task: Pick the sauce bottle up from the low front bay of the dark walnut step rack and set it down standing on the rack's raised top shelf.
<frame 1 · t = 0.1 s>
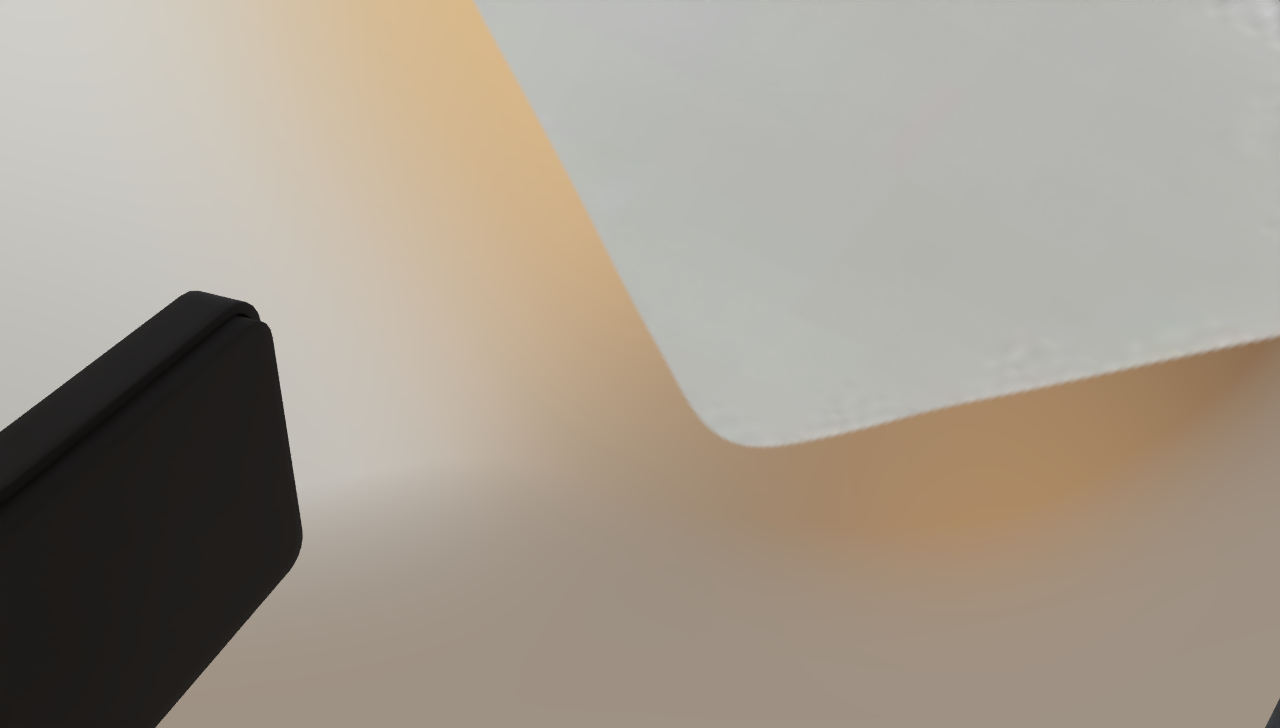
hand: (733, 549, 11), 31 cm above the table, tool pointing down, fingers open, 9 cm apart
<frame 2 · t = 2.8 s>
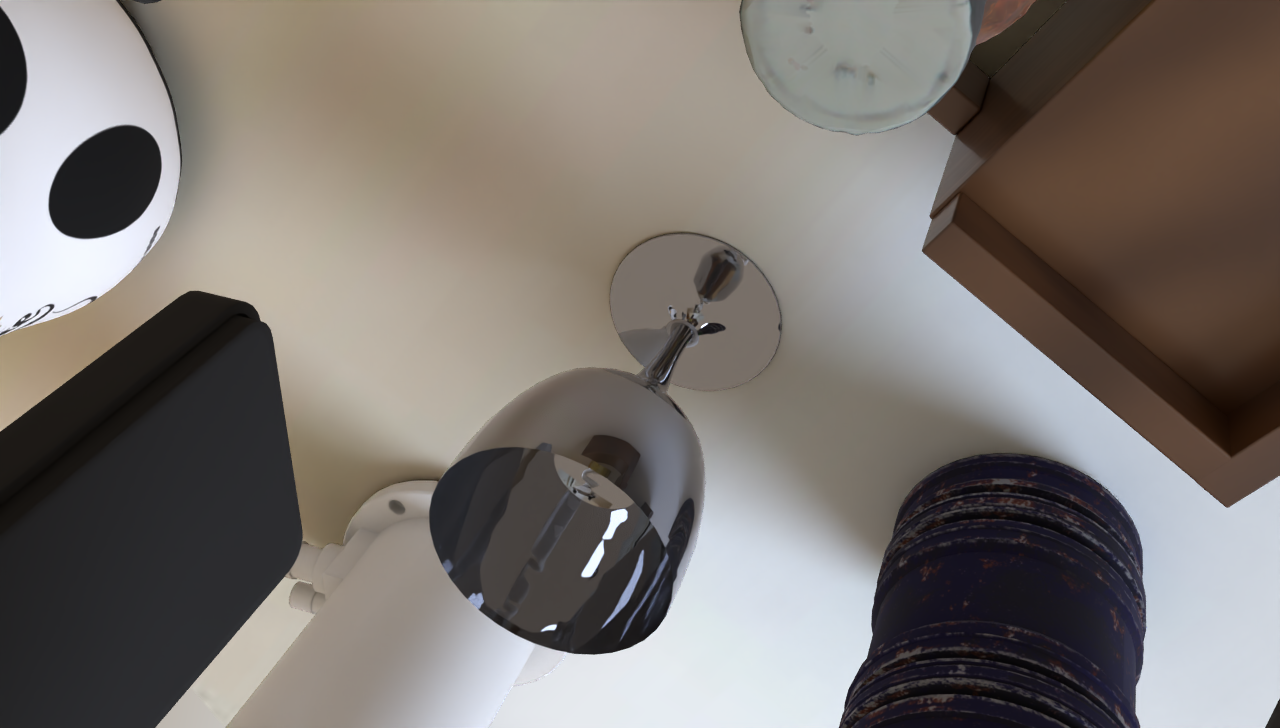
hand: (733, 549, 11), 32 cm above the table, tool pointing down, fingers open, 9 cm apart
dark blue cylinder: (1014, 548, 49), on the table
wine glass: (695, 312, 48), on the table
milk container: (48, 82, 53), on the table
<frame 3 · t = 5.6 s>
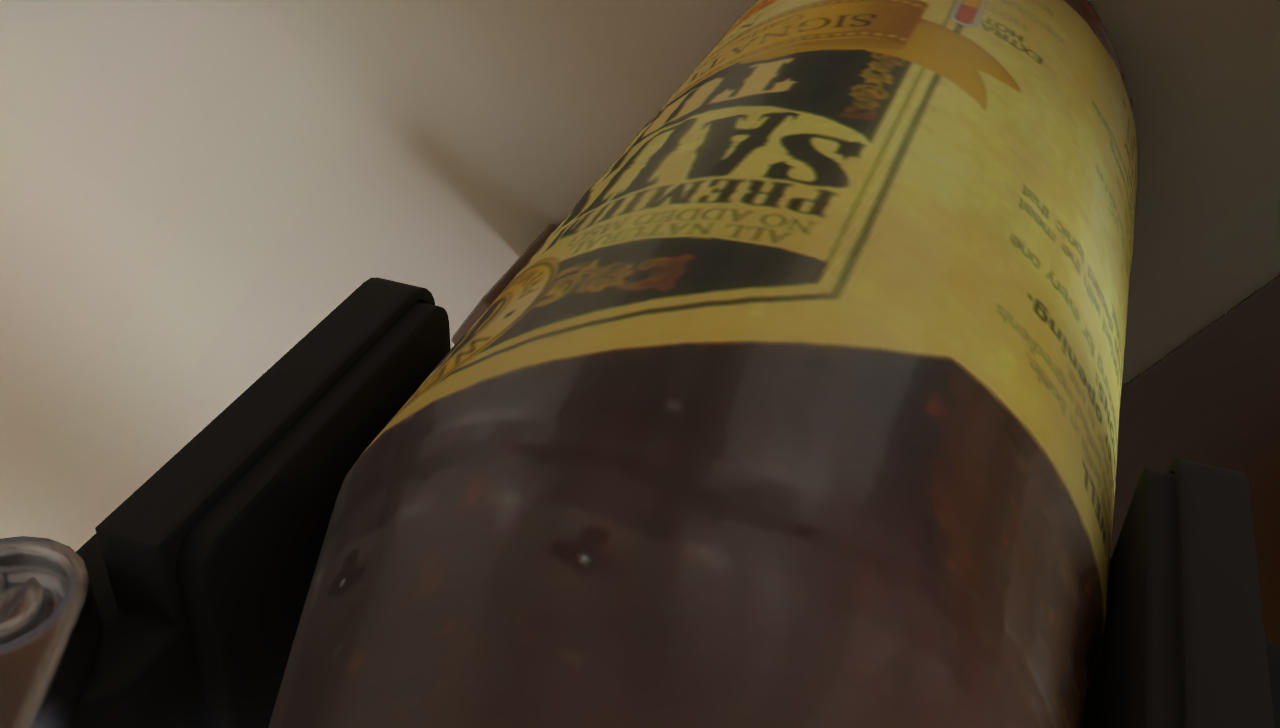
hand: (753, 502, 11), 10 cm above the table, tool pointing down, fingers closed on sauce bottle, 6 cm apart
sauce bottle: (914, 121, 19), resting on step rack, touching gripper
step rack: (1219, 388, 19), on the table
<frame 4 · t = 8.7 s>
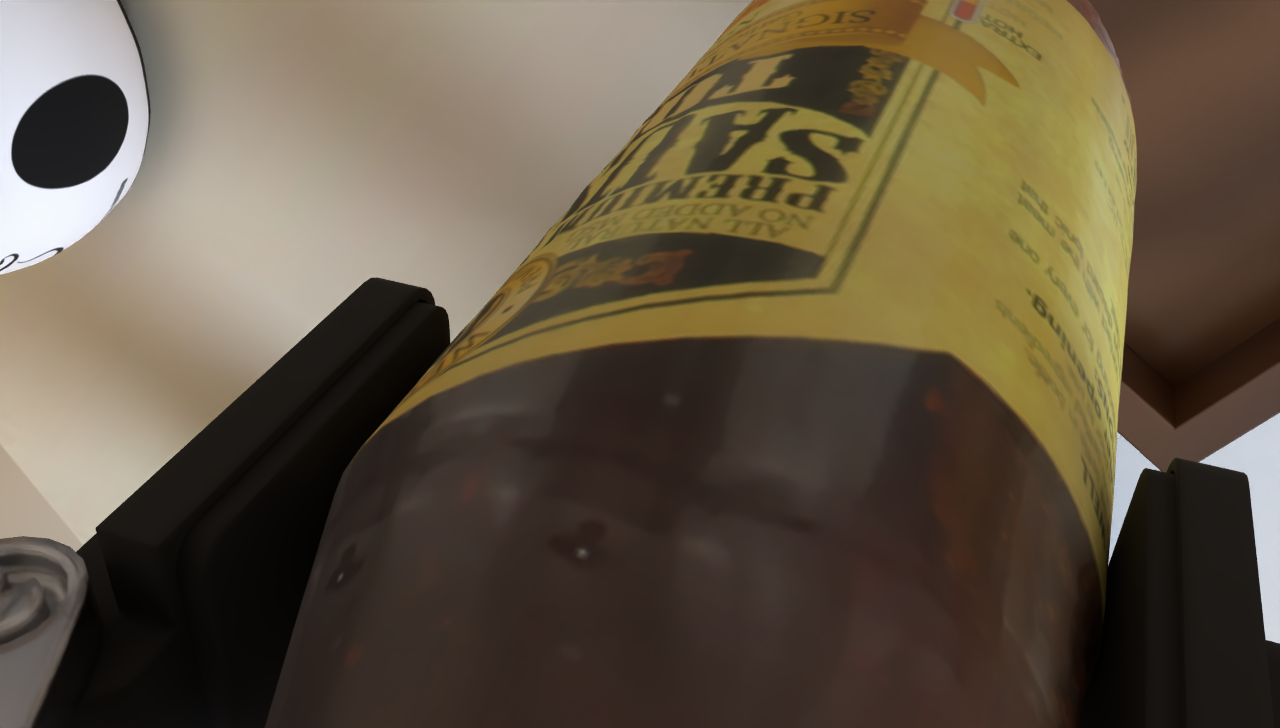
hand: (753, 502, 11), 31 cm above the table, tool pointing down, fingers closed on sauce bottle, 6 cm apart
sauce bottle: (914, 118, 19), point 22 cm above the table, touching gripper
milk container: (18, 31, 53), on the table
when the fingers open (19 cm above the table, at t = 12.0 s): sauce bottle stays where it is, resting on step rack.
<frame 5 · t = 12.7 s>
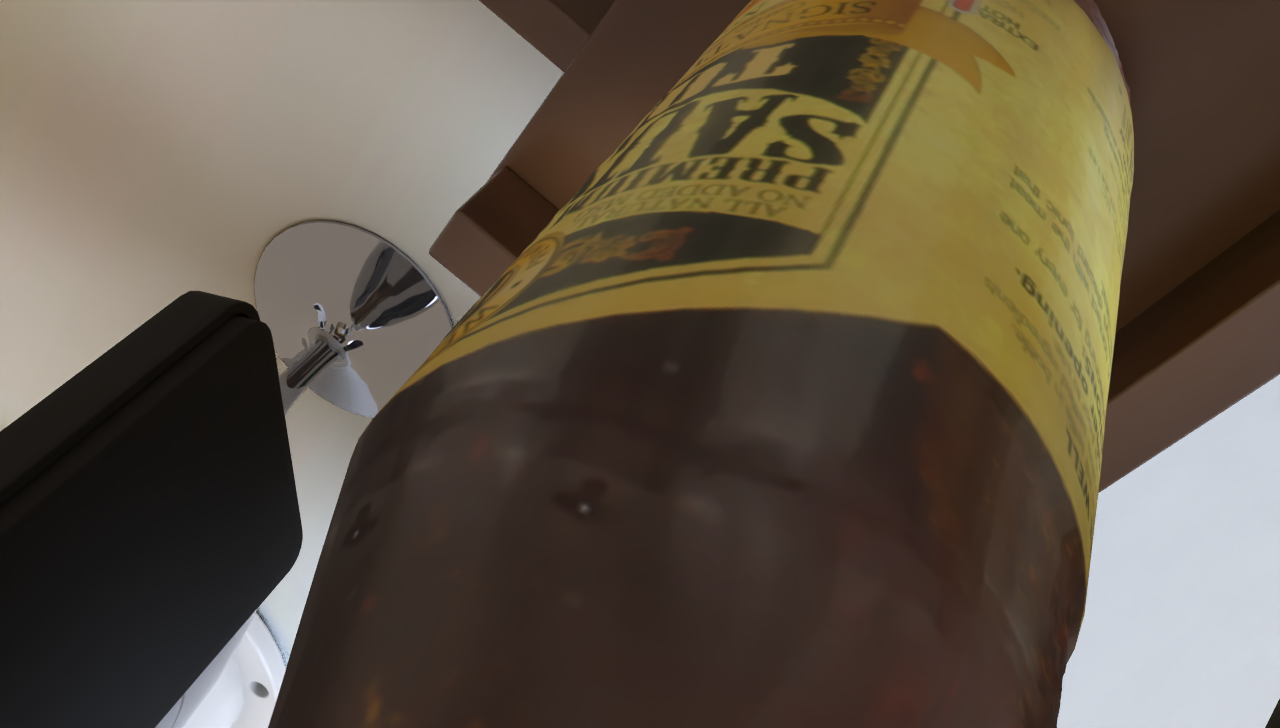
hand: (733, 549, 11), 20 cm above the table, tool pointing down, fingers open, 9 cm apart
sauce bottle: (917, 109, 19), point 9 cm above the table, touching step rack
wine glass: (357, 321, 38), on the table
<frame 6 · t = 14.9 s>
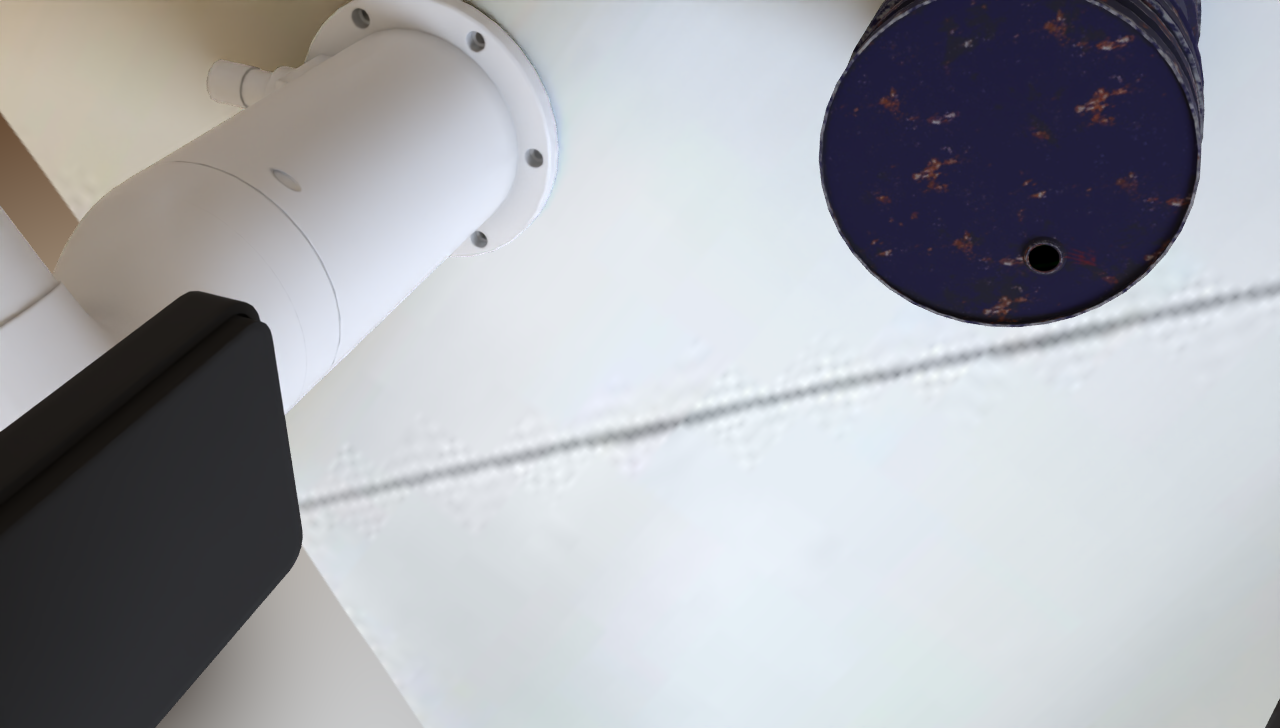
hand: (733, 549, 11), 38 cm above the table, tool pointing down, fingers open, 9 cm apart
dark blue cylinder: (1049, 0, 44), on the table
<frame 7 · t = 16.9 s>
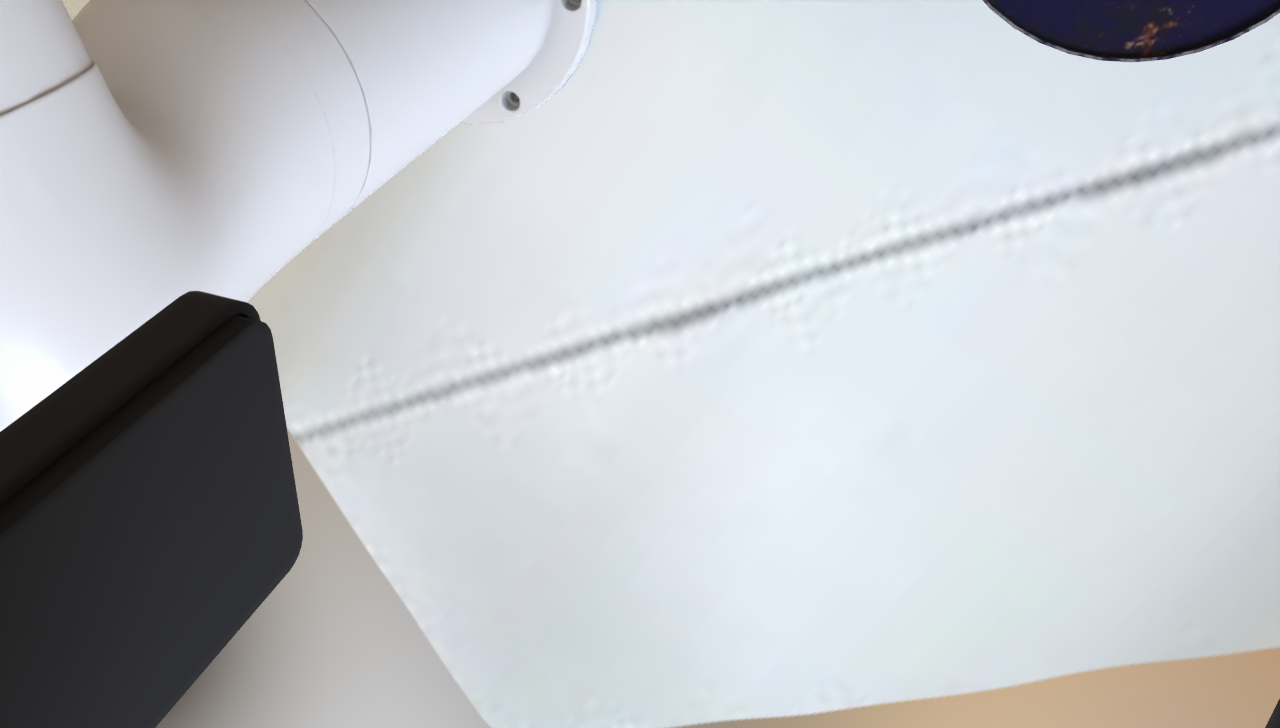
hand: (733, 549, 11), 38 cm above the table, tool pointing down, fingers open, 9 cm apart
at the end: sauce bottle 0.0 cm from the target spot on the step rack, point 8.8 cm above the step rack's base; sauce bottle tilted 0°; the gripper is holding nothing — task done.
